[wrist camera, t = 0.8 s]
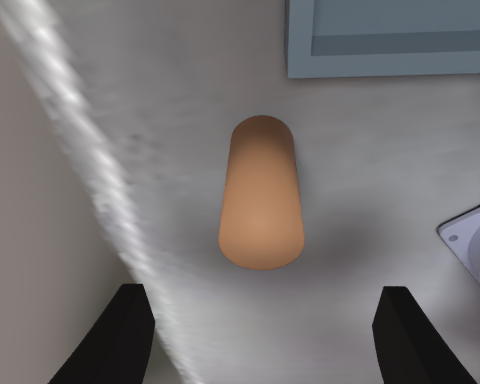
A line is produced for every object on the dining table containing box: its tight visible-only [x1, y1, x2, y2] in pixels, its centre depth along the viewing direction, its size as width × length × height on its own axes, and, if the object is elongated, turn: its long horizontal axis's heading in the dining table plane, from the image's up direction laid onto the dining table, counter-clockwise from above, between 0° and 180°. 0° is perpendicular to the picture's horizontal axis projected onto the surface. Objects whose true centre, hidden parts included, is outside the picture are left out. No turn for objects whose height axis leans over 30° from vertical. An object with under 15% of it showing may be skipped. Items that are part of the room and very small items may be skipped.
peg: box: [218, 116, 305, 270], centre depth 17 cm, size 3×3×7 cm
